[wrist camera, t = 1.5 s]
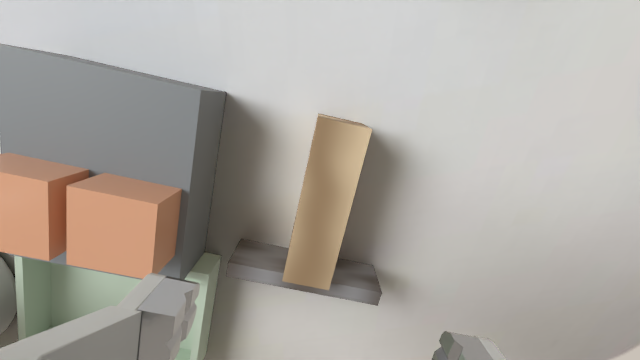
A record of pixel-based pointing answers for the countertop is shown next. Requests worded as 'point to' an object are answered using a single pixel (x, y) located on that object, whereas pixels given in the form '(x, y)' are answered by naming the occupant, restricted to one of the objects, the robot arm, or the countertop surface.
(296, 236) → the grey and tan blocks
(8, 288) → the cylinder vase
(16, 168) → the orange block
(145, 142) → the board
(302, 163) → the countertop surface
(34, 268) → the tray
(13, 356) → the robot arm
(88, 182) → the peach block
